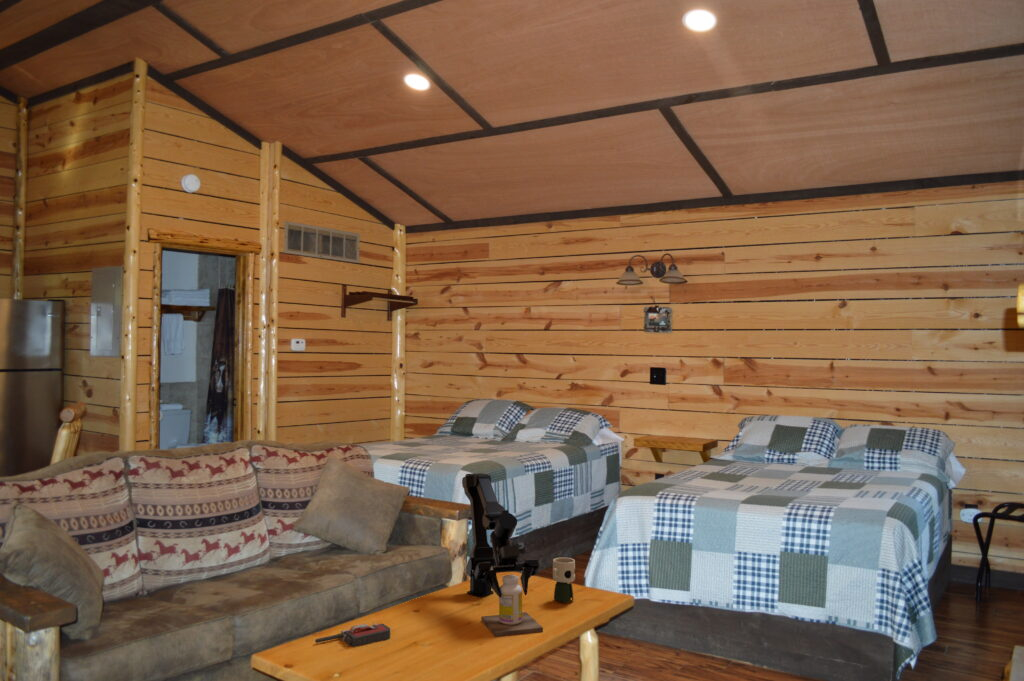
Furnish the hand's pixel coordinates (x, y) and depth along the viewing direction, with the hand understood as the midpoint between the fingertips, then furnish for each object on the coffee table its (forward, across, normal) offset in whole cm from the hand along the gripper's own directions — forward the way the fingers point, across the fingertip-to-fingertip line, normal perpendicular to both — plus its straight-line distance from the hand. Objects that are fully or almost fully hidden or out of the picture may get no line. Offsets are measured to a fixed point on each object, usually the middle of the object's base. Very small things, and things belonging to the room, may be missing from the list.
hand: (513, 595), depth 228 cm
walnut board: (+6, 0, +7) cm, 9 cm away
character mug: (-7, +23, +20) cm, 31 cm away
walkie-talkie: (+5, -44, +9) cm, 46 cm away
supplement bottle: (+5, 0, +7) cm, 8 cm away
